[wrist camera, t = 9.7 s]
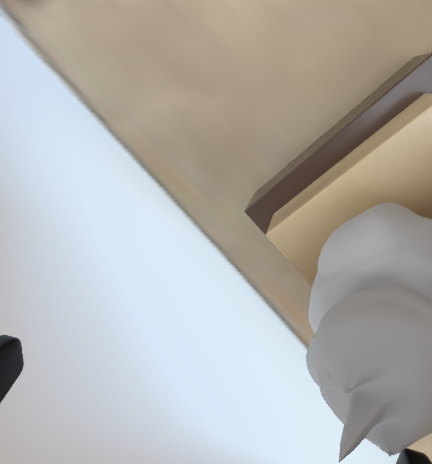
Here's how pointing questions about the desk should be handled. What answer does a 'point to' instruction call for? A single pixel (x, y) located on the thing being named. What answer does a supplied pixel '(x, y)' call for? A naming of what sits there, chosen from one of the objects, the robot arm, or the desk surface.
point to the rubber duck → (375, 328)
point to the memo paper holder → (354, 169)
